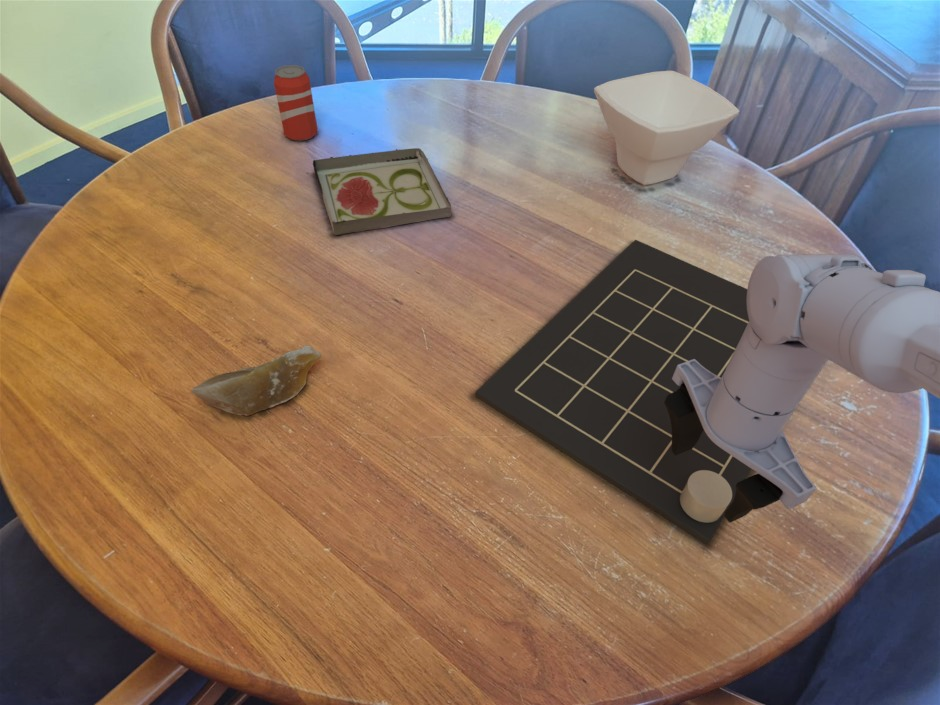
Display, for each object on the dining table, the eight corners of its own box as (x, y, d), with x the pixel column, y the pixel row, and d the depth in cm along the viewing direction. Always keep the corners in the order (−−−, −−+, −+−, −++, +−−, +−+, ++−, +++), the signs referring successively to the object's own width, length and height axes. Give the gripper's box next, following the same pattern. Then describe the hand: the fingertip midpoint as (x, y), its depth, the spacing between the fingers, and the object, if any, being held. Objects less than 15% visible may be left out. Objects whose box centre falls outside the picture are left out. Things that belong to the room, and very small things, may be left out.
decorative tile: (424, 161, 114) (313, 170, 109) (424, 145, 112) (311, 154, 107) (452, 224, 101) (327, 238, 96) (453, 208, 98) (325, 221, 94)
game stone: (731, 513, 64) (741, 498, 62) (697, 529, 63) (707, 514, 60) (704, 479, 67) (712, 464, 64) (670, 494, 65) (678, 478, 63)
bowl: (571, 161, 114) (584, 85, 104) (655, 139, 120) (674, 66, 110) (634, 214, 102) (654, 135, 92) (723, 187, 109) (751, 110, 99)
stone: (177, 364, 69) (306, 316, 73) (193, 388, 74) (312, 342, 79) (197, 418, 66) (330, 365, 71) (212, 439, 72) (334, 388, 76)
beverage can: (305, 123, 121) (293, 60, 112) (324, 135, 118) (315, 71, 109) (278, 134, 118) (264, 70, 109) (298, 146, 115) (285, 81, 106)
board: (707, 545, 63) (710, 540, 62) (475, 397, 75) (475, 391, 74) (829, 332, 84) (833, 326, 84) (634, 244, 97) (635, 238, 96)
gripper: (875, 440, 44) (797, 531, 54) (737, 313, 53) (692, 410, 63) (802, 474, 42) (735, 562, 52) (671, 336, 51) (635, 433, 61)
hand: (707, 481), depth 58 cm, fingers open, 7 cm apart
